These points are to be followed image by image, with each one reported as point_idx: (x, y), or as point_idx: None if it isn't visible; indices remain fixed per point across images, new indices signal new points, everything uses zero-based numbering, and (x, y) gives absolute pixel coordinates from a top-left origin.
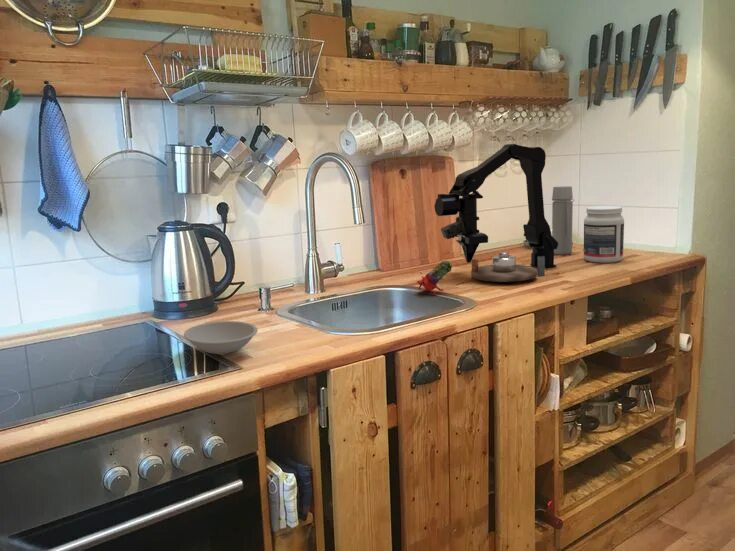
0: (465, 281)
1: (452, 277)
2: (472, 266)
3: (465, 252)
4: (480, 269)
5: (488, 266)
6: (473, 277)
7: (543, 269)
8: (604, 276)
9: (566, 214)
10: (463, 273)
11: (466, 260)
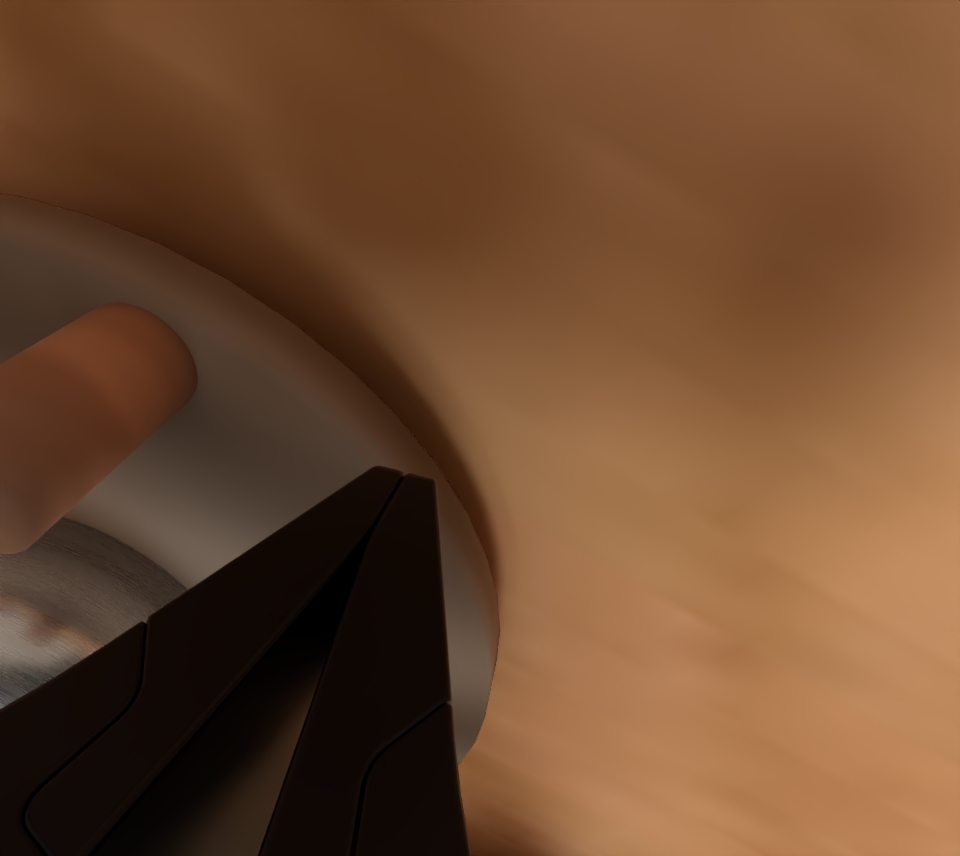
0: (106, 62)
1: (568, 24)
2: (39, 347)
3: (224, 655)
4: (229, 477)
5: None
6: (14, 197)
7: None
8: None
9: None
10: (750, 408)
11: (399, 495)
